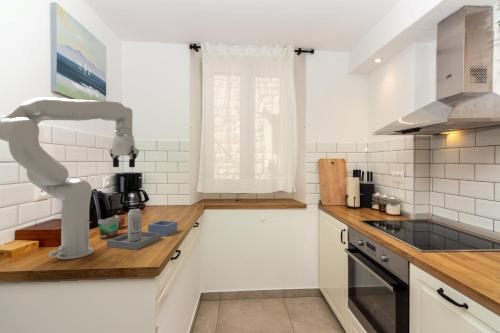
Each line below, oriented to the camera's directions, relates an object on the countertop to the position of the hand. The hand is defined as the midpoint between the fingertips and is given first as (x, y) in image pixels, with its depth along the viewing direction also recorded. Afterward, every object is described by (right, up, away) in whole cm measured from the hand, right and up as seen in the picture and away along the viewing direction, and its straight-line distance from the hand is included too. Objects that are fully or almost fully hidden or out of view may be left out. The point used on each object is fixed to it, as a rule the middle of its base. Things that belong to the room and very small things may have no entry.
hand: (123, 167), depth 126 cm
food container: (-10, -37, +7) cm, 38 cm away
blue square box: (+14, -36, +14) cm, 42 cm away
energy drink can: (+7, -36, -3) cm, 37 cm away
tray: (+7, -36, -3) cm, 37 cm away
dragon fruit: (-16, -36, +23) cm, 46 cm away
